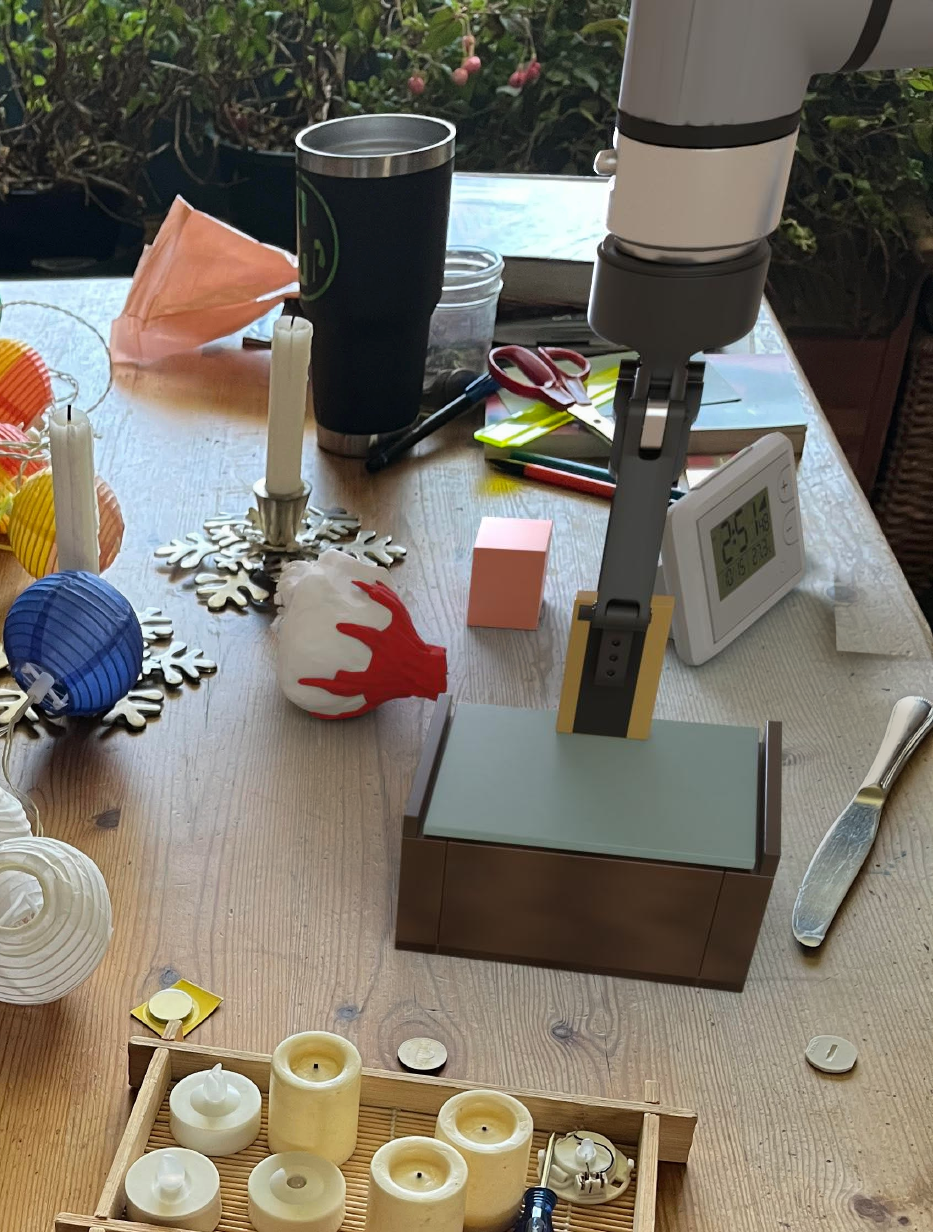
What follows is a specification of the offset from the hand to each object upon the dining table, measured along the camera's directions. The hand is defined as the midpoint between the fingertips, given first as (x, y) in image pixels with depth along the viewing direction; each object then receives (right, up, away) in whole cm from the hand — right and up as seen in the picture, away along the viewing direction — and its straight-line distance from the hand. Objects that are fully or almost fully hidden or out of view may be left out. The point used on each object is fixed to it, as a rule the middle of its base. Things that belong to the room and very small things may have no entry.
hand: (609, 665), depth 84 cm
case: (0, -12, +6) cm, 14 cm away
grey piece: (-1, -6, 0) cm, 6 cm away
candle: (-10, +4, +24) cm, 26 cm away
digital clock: (+17, +11, +27) cm, 34 cm away
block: (+2, +13, +30) cm, 33 cm away
